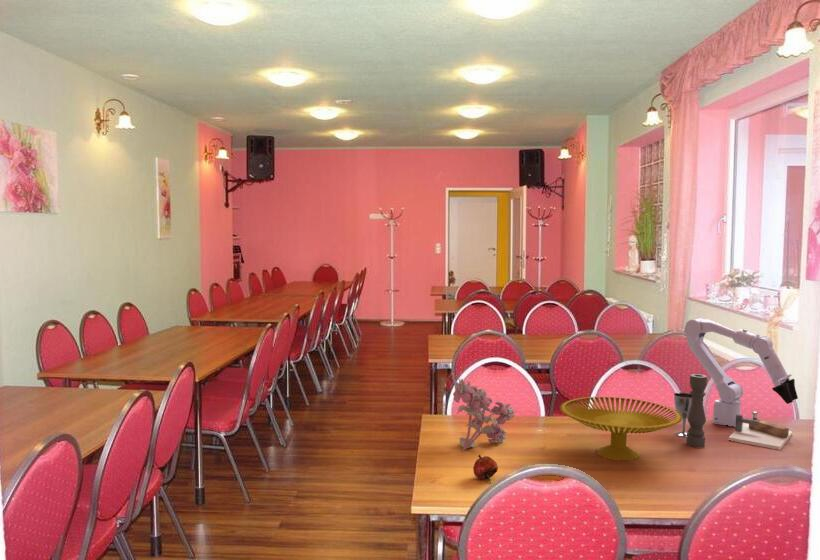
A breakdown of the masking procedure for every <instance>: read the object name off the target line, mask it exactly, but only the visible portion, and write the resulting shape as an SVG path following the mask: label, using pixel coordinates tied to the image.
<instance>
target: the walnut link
mask: <svg viewBox="0 0 820 560" xmlns="http://www.w3.org/2000/svg"><path fill="white" fill-rule="evenodd" d="M757 420H759V424H758V425H755V424H749V423H748V424H749V428H751V429H756V430H759V431H763V432H766V433H770V434H773V435H776V436H780V437H788V434H789V431H790V430H789V429H790V428H788V427H785V426H783V425H782V426H781V425H778V424H775V423H771V422H768V421H765V420H761V419H758V418H757Z"/></svg>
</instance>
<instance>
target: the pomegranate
mask: <svg viewBox="0 0 820 560" xmlns="http://www.w3.org/2000/svg"><path fill="white" fill-rule="evenodd" d="M477 457H478V458H477V459H476V460H475V462H474V464H473V467H472V468H473V470H472V471H473V474H474V476H475V477H476V478H477V479H478V480H483V479H488V480H489V482H490V484H492V481H491V479H490V478H491V477H493V476H494V475H496V473H497V472H498V469H499V467H498V464H497V462H496V461H495V460H494V459H493V457H490V456H487V455H484V456H482V457H481V454H479V455H477Z"/></svg>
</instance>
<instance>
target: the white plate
mask: <svg viewBox="0 0 820 560" xmlns="http://www.w3.org/2000/svg"><path fill="white" fill-rule="evenodd" d="M792 435H793V431H791V430H789V434H788V437H780V436H776V435H773V434H770V433H766V432H763V431H759V430H756V429H751V428H749V423H743V425H742V431H741V432H739V431H735V430H734V432H732V434H730V435H729V436H728V441H729V440H731V441H730V442H734V441H735V443H741V444H744V445H745V444H746V445H750V444H751V445H752V446H757V447H762V448H768V449H774V450H778V451H781V449H782V448H783V447H784V446H785V444H786V443H787V442H788V440H789V439H791V437H792Z"/></svg>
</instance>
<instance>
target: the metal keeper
mask: <svg viewBox="0 0 820 560" xmlns="http://www.w3.org/2000/svg"><path fill="white" fill-rule="evenodd" d="M759 420H760V419H759ZM759 420H753V418H746V417H744V414H741V413H740V414H737V415H736V426H735V427H734V428H735V429H734V432H735V431H739V432H741V431H742V425H743V423H745V424H755V425H758V424H759Z"/></svg>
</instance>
